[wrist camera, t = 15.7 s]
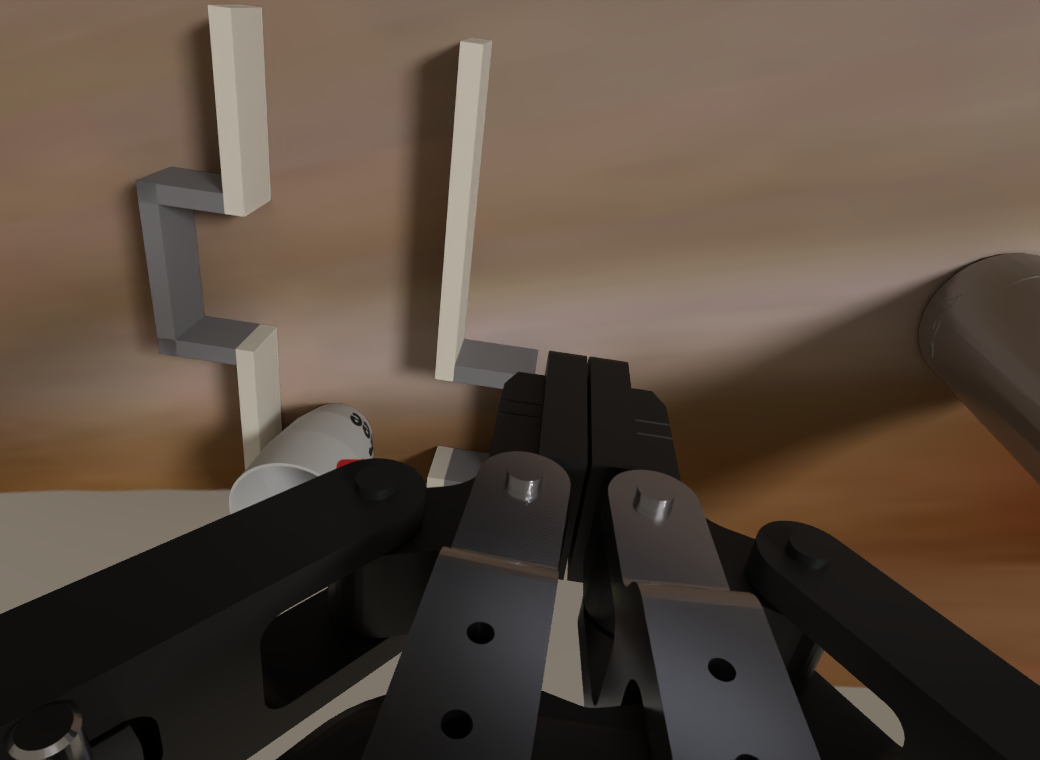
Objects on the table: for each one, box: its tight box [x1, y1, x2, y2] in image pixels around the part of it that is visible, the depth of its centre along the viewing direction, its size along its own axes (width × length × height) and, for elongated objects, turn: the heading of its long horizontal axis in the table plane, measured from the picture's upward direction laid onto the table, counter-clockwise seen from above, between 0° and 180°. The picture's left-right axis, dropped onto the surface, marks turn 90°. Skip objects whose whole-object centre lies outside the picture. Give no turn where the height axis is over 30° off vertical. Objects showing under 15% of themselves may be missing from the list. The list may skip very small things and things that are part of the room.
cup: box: [229, 403, 374, 514], centre depth 49 cm, size 8×8×10 cm
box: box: [136, 5, 538, 488], centre depth 47 cm, size 25×39×4 cm, turn 173°
